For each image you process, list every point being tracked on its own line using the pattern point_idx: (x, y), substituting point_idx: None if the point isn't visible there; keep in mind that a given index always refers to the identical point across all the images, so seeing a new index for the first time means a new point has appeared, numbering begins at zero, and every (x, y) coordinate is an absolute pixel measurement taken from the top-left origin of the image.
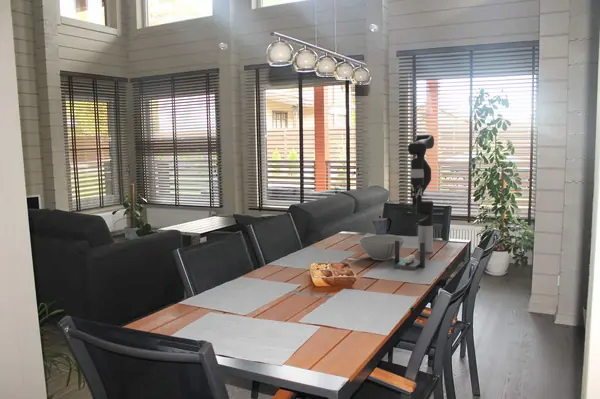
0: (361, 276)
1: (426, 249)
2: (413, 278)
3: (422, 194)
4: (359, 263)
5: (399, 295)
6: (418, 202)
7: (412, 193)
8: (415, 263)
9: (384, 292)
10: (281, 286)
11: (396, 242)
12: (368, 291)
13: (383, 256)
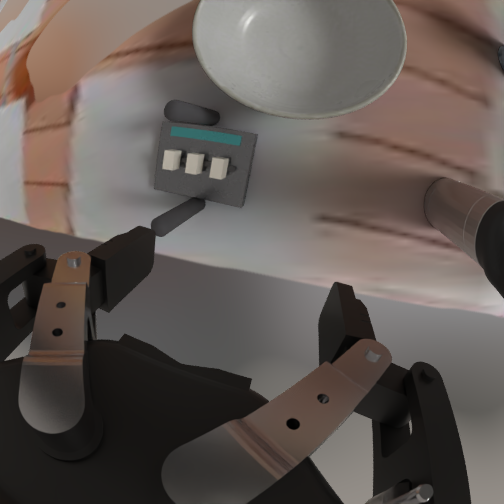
0: (80, 80)
1: (428, 210)
2: (92, 197)
3: (372, 425)
4: None
5: (22, 195)
6: (333, 294)
7: (6, 294)
8: (193, 183)
9: (23, 168)
10: (31, 14)
11: (166, 111)
12: (21, 142)
13: (245, 59)
